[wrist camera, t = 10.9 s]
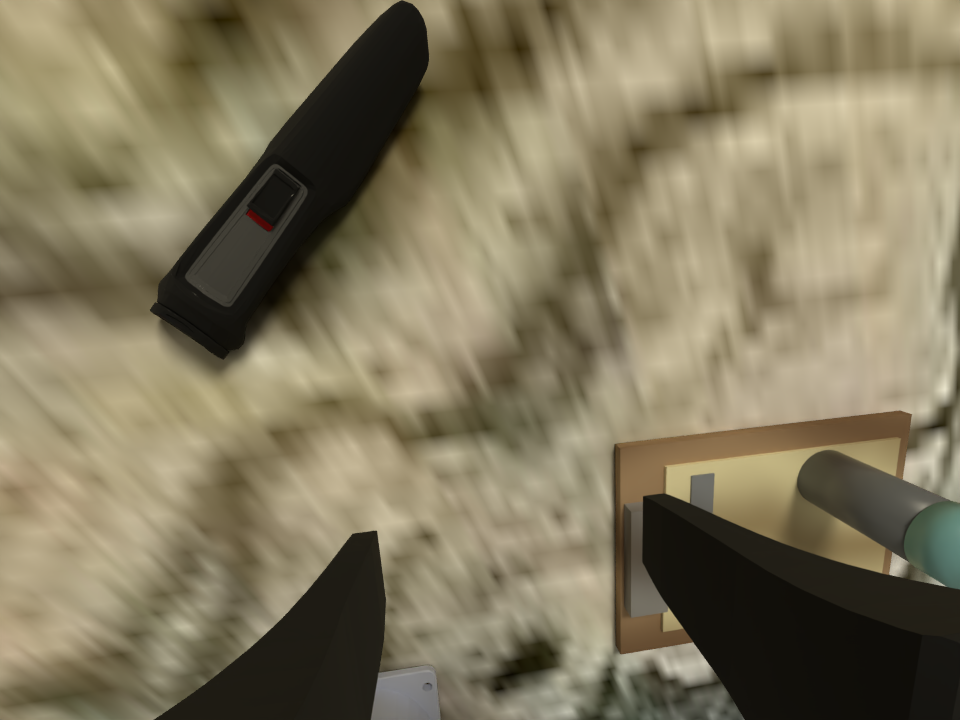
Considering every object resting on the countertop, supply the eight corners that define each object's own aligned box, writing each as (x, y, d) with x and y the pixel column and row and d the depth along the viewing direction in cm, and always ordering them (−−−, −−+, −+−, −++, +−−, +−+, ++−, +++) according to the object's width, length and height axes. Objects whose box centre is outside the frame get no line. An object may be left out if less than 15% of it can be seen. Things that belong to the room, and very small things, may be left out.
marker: (850, 499, 24) (1015, 588, 17) (795, 508, 24) (941, 602, 17) (852, 444, 24) (1024, 514, 17) (796, 453, 23) (949, 528, 17)
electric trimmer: (452, 81, 19) (459, 46, 16) (233, 362, 20) (200, 379, 17) (380, 12, 18) (373, -39, 15) (155, 309, 19) (106, 316, 16)
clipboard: (873, 602, 27) (897, 620, 26) (616, 645, 25) (627, 667, 24) (900, 410, 25) (928, 419, 23) (615, 443, 23) (627, 455, 21)
